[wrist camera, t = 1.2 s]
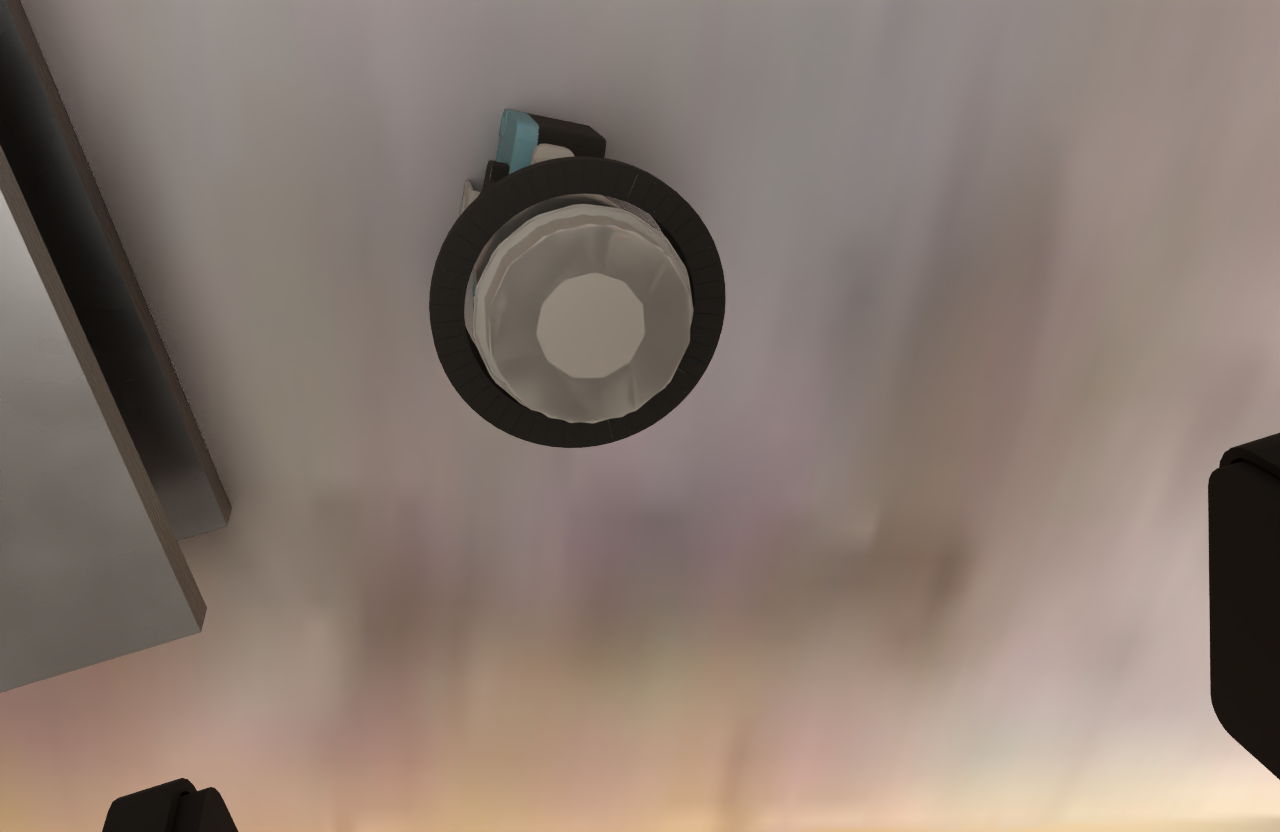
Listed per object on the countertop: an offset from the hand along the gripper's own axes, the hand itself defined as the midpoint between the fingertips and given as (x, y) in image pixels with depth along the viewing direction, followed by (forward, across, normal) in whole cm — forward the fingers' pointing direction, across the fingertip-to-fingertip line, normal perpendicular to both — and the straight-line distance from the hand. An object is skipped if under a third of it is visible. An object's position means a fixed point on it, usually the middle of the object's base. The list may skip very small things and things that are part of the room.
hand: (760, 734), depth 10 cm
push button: (+21, 0, 0) cm, 21 cm away
